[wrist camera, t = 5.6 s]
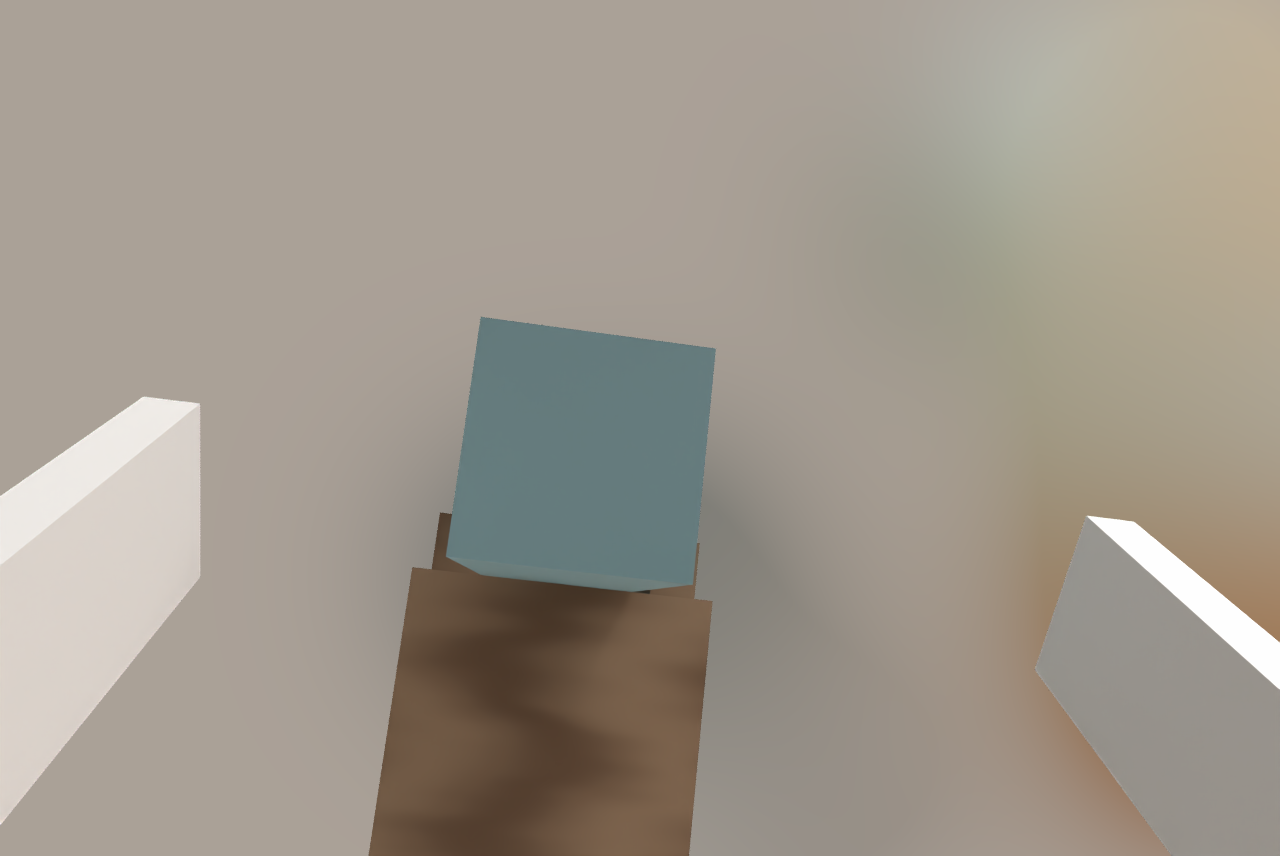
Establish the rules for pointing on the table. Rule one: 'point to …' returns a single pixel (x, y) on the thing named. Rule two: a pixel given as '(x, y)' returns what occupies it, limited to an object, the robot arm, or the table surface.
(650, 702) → the stand
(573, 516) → the rod
